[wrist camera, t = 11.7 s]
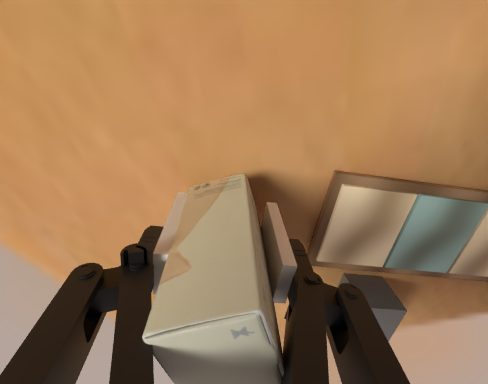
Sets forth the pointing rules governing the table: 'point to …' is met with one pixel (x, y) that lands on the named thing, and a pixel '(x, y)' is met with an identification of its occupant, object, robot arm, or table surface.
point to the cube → (379, 300)
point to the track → (402, 228)
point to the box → (217, 293)
